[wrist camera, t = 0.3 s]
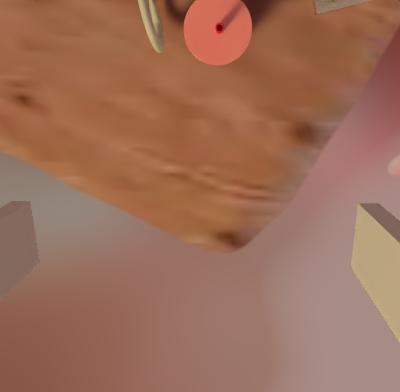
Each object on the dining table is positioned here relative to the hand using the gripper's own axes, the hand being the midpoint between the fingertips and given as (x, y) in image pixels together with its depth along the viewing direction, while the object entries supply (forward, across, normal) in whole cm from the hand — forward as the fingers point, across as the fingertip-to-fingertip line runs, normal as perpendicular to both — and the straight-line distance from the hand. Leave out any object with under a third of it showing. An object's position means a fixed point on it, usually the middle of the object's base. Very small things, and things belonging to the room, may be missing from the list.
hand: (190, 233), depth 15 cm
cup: (+27, +1, +10) cm, 29 cm away
